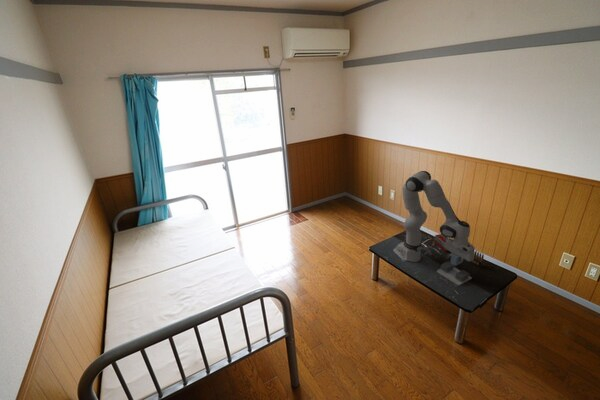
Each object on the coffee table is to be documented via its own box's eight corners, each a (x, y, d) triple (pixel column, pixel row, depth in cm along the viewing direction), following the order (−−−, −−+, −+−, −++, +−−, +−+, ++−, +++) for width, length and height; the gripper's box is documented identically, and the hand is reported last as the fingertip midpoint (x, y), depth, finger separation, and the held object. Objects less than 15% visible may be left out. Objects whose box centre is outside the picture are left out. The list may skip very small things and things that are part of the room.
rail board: (436, 271, 211) (437, 265, 208) (449, 265, 216) (450, 259, 214) (458, 285, 196) (460, 279, 194) (471, 278, 202) (473, 272, 199)
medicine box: (453, 250, 233) (455, 242, 229) (444, 252, 231) (446, 244, 228) (441, 241, 246) (443, 233, 243) (433, 242, 245) (434, 234, 242)
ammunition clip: (466, 260, 220) (469, 248, 215) (468, 260, 220) (471, 247, 215) (480, 268, 211) (483, 255, 206) (482, 267, 212) (485, 254, 207)
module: (450, 263, 201) (451, 255, 198) (457, 259, 204) (459, 251, 202) (455, 266, 198) (456, 257, 195) (462, 262, 201) (464, 254, 198)
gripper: (443, 238, 202) (441, 253, 207) (471, 251, 185) (467, 268, 191) (449, 235, 204) (447, 251, 210) (477, 248, 187) (473, 265, 193)
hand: (457, 259), depth 200 cm, fingers closed on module, 4 cm apart
